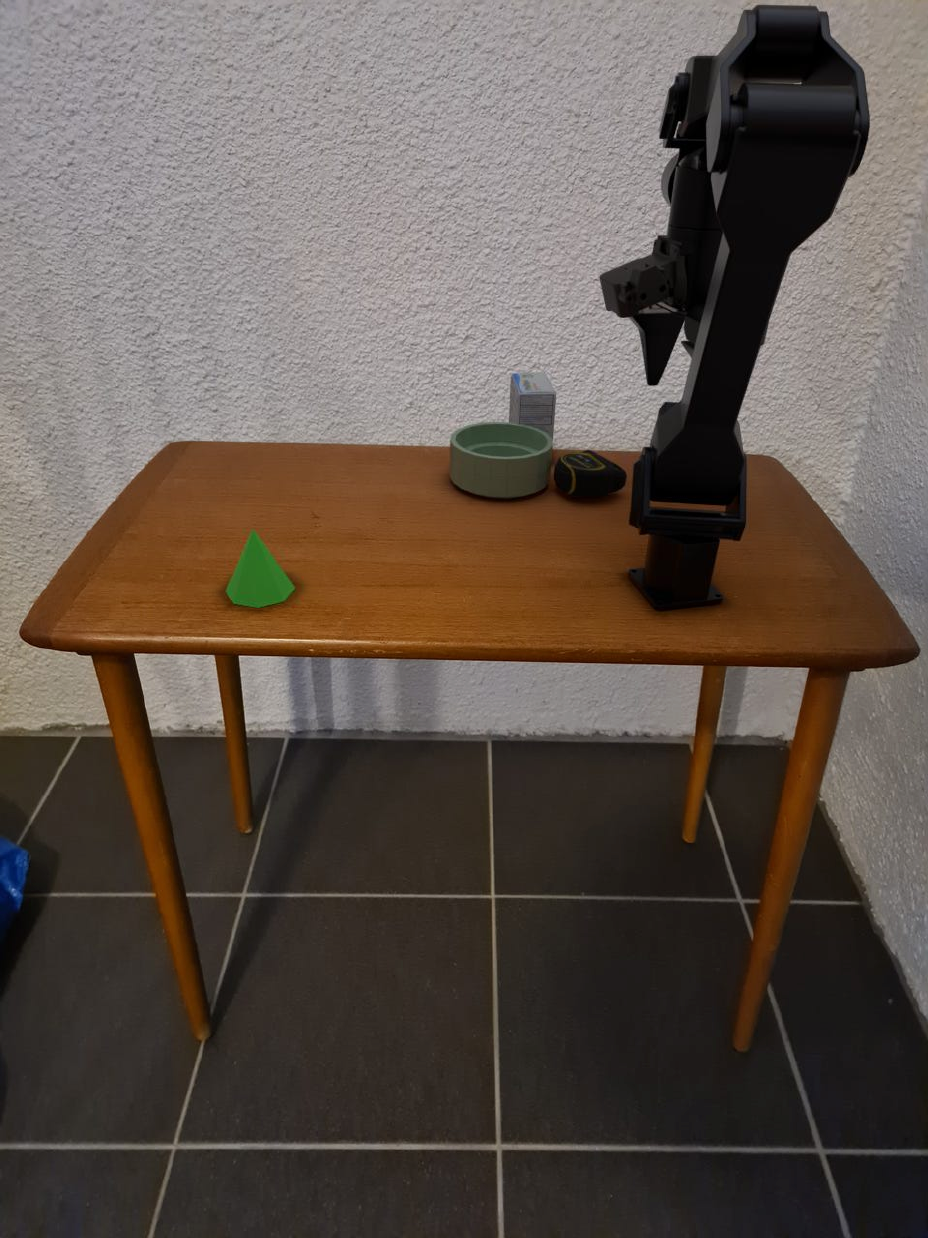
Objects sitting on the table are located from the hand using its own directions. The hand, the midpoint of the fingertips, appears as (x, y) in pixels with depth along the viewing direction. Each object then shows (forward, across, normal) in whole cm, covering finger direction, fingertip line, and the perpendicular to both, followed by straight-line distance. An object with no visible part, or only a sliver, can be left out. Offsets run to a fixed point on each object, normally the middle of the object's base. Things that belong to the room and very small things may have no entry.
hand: (672, 398), depth 82 cm
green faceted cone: (+12, +9, -42) cm, 44 cm away
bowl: (+12, -10, -14) cm, 21 cm away
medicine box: (+12, -18, -8) cm, 23 cm away
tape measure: (+12, -6, -6) cm, 14 cm away
